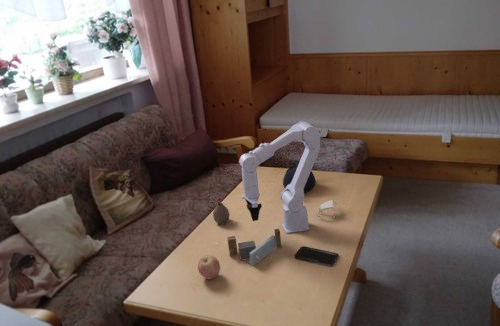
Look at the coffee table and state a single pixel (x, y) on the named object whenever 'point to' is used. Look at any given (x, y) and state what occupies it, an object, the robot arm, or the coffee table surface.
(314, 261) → the phone
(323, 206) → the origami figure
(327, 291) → the coffee table surface
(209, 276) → the apple
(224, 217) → the vase
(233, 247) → the door frame
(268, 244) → the door
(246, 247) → the block
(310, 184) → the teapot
